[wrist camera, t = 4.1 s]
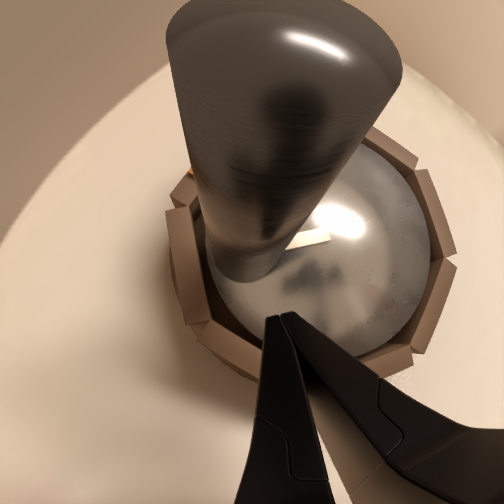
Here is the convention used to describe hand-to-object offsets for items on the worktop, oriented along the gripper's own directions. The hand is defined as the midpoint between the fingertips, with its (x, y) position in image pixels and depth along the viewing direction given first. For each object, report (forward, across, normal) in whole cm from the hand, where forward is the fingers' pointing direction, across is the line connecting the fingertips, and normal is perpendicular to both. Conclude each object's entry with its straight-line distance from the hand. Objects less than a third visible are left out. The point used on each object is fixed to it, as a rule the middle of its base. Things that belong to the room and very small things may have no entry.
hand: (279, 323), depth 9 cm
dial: (+8, -4, +3) cm, 9 cm away
